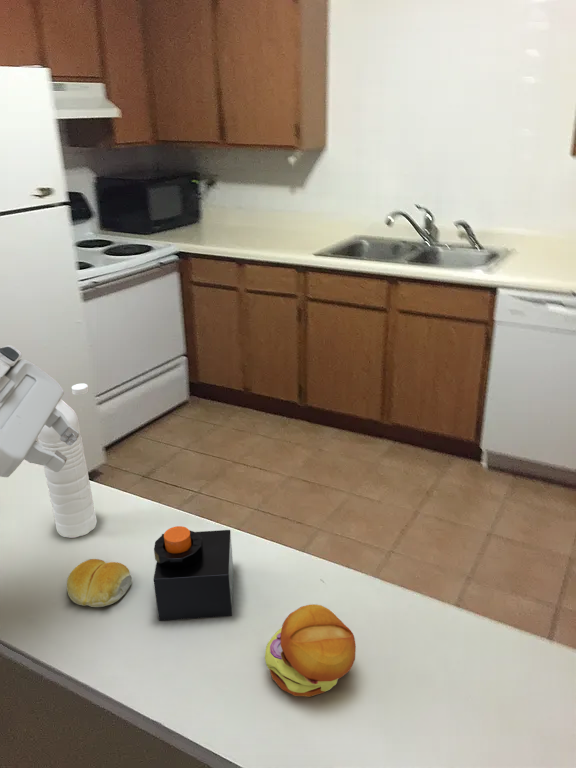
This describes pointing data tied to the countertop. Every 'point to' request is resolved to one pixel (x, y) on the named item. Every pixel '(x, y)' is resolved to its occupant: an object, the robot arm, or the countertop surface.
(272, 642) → the cheeseburger
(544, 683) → the countertop surface
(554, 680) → the countertop surface
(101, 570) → the bread roll
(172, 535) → the orange button cap
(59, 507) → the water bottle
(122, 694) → the countertop surface
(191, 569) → the black push button box
